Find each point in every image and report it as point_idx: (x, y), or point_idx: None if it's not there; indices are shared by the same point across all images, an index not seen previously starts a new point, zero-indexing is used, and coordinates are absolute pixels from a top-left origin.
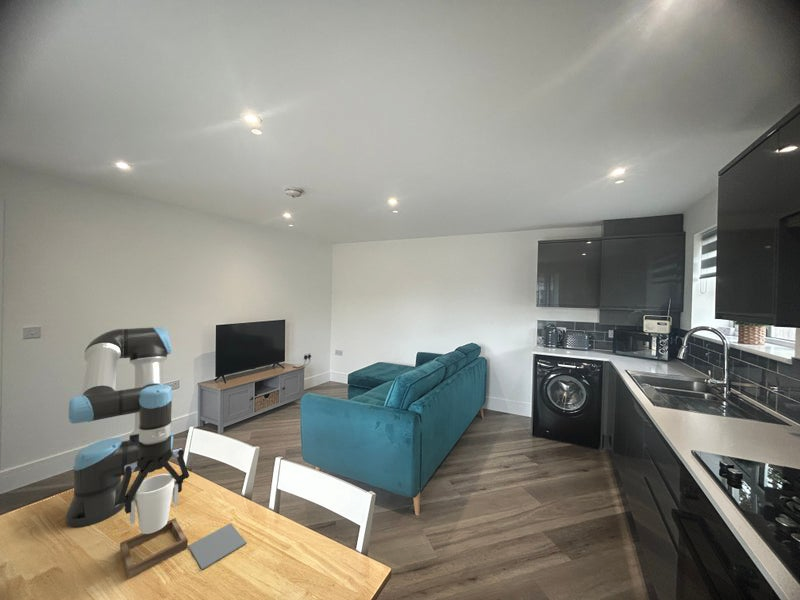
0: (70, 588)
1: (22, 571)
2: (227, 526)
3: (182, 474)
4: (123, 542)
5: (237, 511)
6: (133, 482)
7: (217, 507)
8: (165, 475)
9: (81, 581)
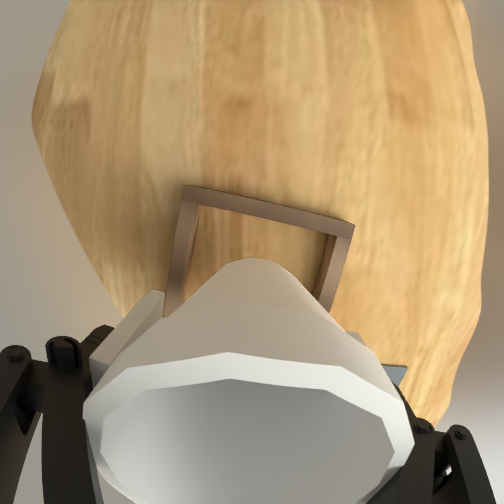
0: (82, 225)
1: (59, 62)
2: (396, 373)
3: (439, 456)
4: (191, 192)
5: (447, 332)
6: (42, 468)
7: (447, 263)
8: (388, 432)
9: (100, 223)
